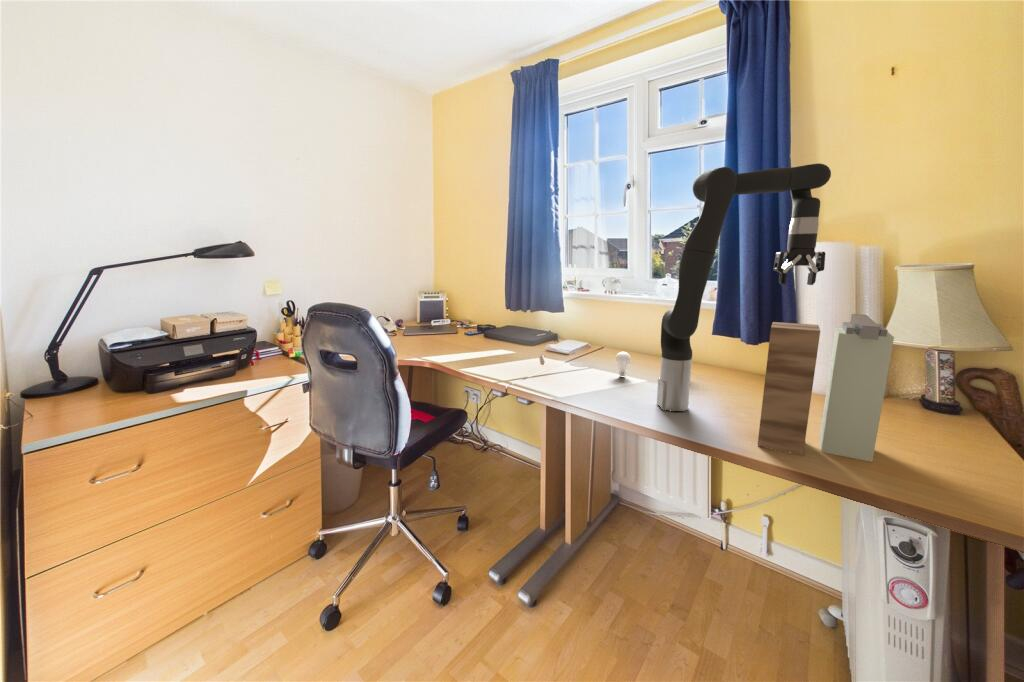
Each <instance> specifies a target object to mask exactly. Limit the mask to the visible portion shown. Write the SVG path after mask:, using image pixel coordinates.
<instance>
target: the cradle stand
mask: <svg viewBox="0 0 1024 682" xmlns="http://www.w3.org/2000/svg"><path fill="white" fill-rule="evenodd" d="M877 324H878V325H879V326H880V331H879V337H878V340H871V339H861V338H860V337H859V336H858V335H857V333H856V332H855V331H854V330H853V327H852V326H851V324H850V322H849V321H848V322H847V321H843V322H842V326H841V327H838V326H836V327H835V329H834V336H833V344H832V352H831V356H830V357H831V358H830V363H829V369H828V370H829V371H828V379H827V385H826V392H825V400H824V406H823V414H822V419H821V426H820V432H819V443H820V451H821V453H826V454H831V455H835V456H840V457H846V458H852V459H857V460H861V461H867V462H871V463H872V462H873V458H874V456H875V455H874V454H875V449H876V444H877V438H878V432H879V426H880V420H881V416H882V415H881V413H882V409H883V403H884V397H885V393H886V392H885V391H886V385H887V381H888V380H887V379H888V376H889V368H890V362H891V357H892V350H893V346H894V339H895V337H894V336H893V335H892V334H891V333H890V332H889V331H888V329H887V328H885V326H883V325H882V324H880V323H877Z"/></svg>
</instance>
